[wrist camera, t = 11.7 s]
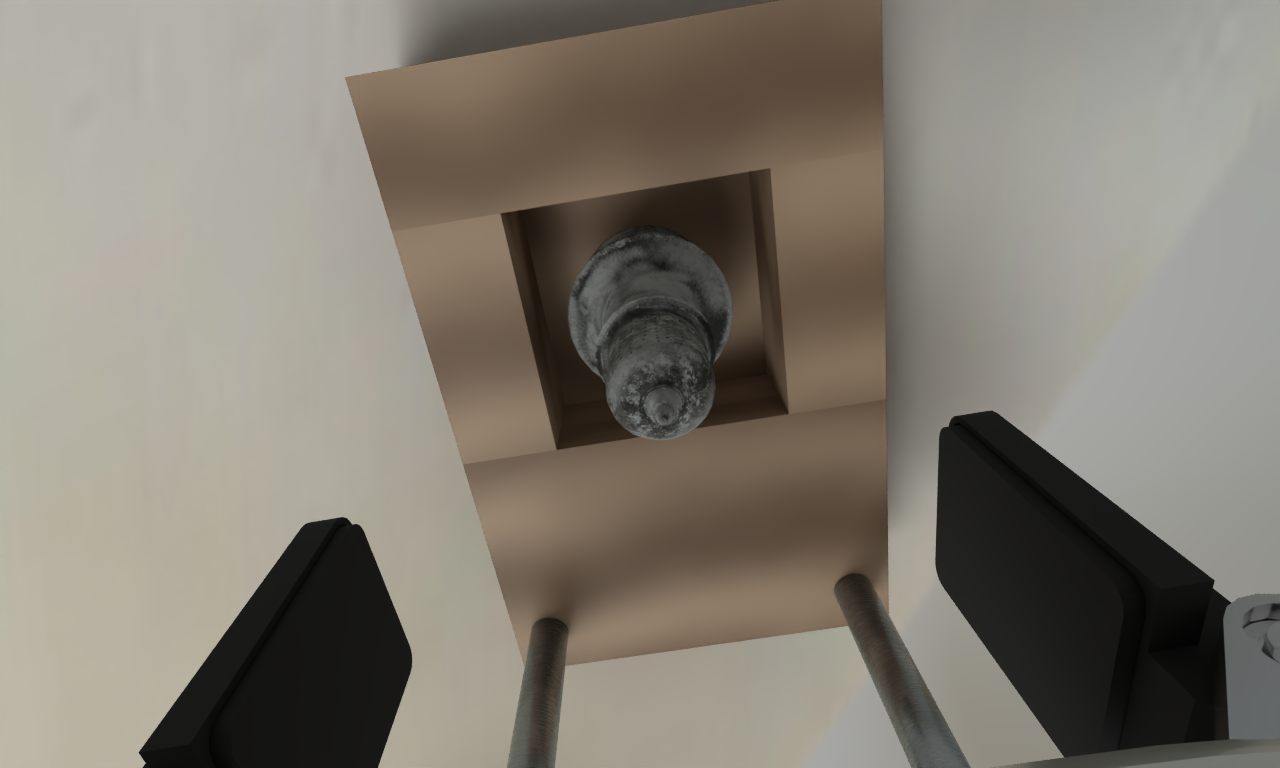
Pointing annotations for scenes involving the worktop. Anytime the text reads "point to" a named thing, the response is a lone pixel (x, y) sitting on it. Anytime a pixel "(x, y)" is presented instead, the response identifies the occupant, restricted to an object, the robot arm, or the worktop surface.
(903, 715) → the grey metal arch
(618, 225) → the socket board
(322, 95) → the worktop surface
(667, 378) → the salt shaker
